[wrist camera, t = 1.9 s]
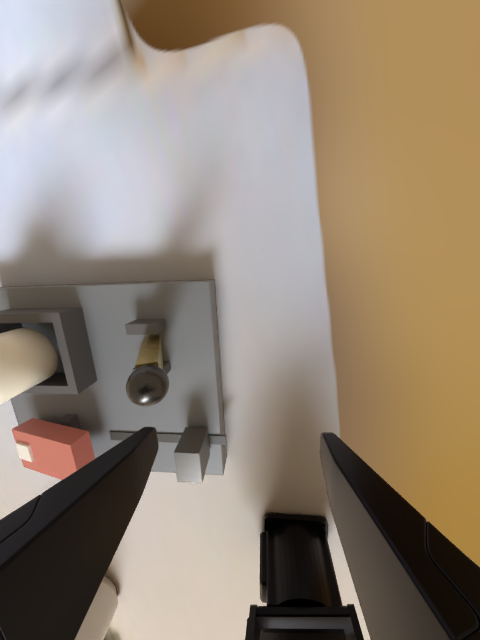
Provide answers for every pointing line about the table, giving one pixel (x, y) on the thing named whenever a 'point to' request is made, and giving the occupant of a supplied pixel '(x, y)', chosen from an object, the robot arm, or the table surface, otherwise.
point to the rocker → (52, 447)
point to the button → (24, 361)
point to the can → (99, 613)
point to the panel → (124, 360)
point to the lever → (148, 374)
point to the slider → (192, 455)
